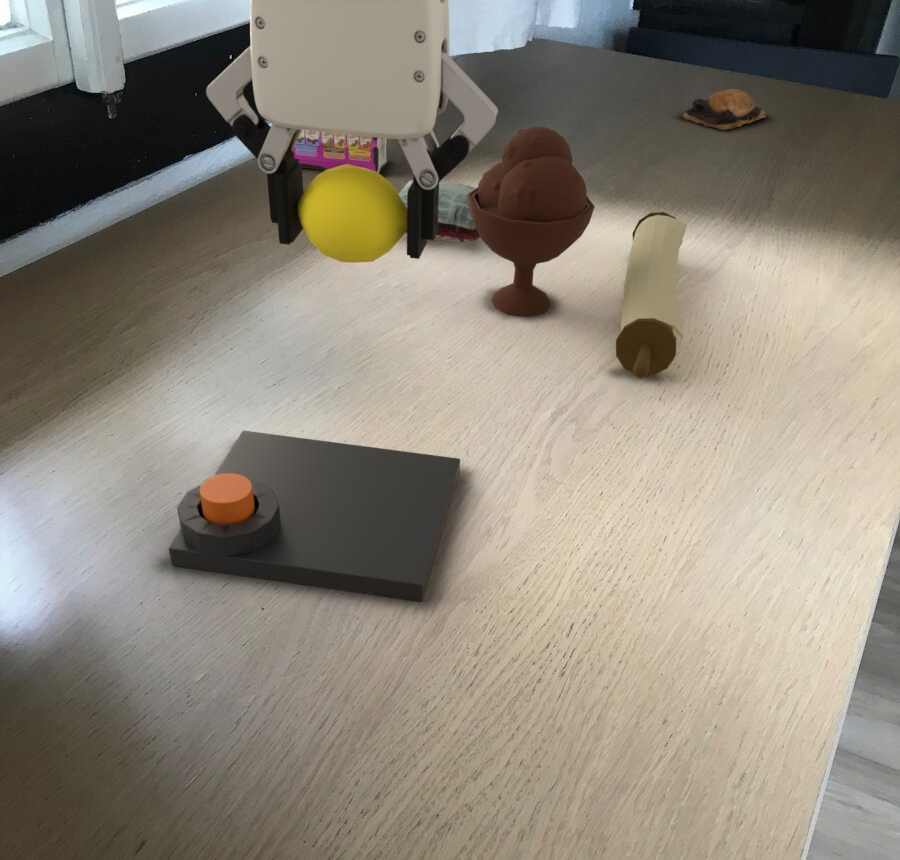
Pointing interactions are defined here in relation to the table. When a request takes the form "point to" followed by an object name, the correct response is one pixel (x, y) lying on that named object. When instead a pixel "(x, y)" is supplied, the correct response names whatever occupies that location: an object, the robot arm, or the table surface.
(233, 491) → the tare button
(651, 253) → the scroll
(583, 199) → the ice cream bowl
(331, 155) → the candy bar box
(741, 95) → the chocolate marshmallow cracker
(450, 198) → the packaged food
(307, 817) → the table surface
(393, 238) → the lemon
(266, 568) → the scale
